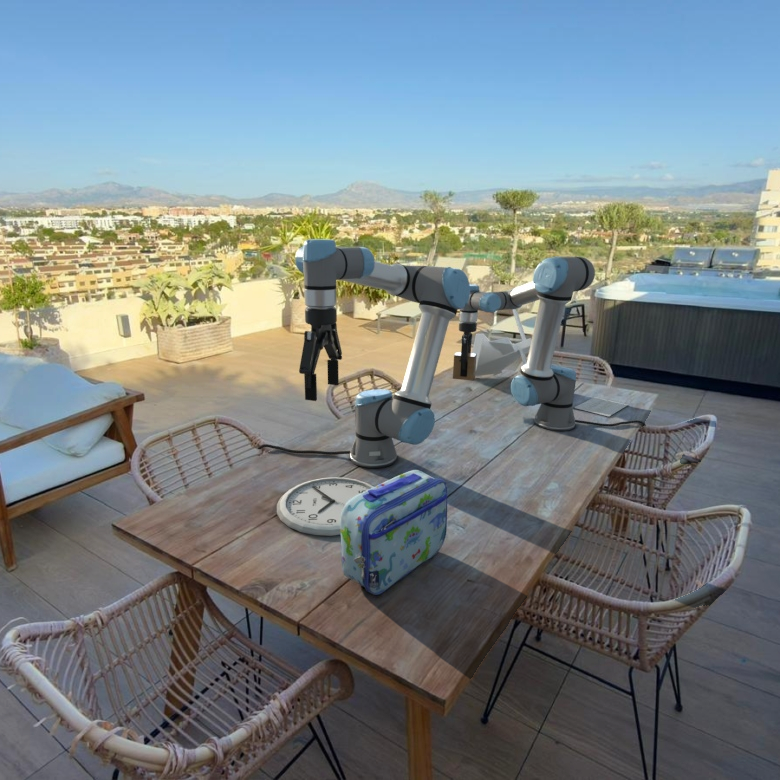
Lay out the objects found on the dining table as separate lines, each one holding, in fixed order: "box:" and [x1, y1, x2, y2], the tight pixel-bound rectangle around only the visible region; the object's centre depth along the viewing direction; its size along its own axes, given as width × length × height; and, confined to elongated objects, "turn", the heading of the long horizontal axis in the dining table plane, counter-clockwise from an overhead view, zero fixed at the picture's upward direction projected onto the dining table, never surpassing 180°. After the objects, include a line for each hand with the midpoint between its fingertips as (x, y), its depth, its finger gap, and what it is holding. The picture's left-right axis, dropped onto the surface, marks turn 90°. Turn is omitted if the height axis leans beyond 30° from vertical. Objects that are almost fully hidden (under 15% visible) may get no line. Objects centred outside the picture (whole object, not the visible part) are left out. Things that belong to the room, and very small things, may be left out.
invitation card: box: [573, 396, 629, 418], centre depth 226 cm, size 21×1×15 cm
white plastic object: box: [471, 309, 532, 377], centre depth 259 cm, size 37×45×31 cm
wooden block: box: [452, 351, 477, 382], centre depth 227 cm, size 6×9×10 cm
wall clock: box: [276, 476, 375, 537], centre depth 142 cm, size 30×2×30 cm
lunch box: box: [340, 469, 448, 596], centre depth 114 cm, size 26×11×21 cm, turn 134°
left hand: (322, 392), depth 130 cm, fingers open, 13 cm apart
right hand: (464, 374), depth 228 cm, fingers closed on wooden block, 6 cm apart
